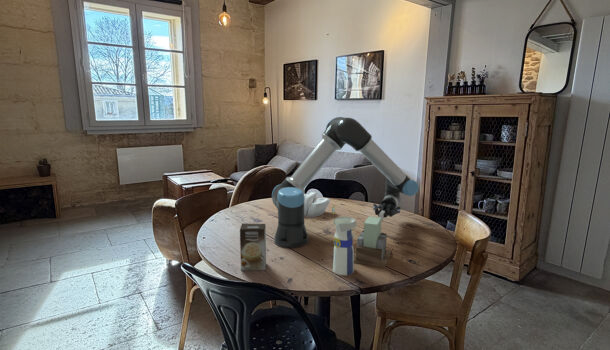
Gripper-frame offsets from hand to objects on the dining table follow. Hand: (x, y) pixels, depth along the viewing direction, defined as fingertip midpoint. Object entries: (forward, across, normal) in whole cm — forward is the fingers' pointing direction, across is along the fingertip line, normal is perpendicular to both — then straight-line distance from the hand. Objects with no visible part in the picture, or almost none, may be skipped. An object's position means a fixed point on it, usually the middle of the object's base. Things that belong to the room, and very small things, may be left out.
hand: (380, 217), depth 144 cm
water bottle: (+29, +7, -13) cm, 33 cm away
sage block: (+14, 0, -11) cm, 18 cm away
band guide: (+14, 0, -12) cm, 19 cm away
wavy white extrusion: (-32, +52, -13) cm, 62 cm away
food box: (+39, +39, -14) cm, 57 cm away
